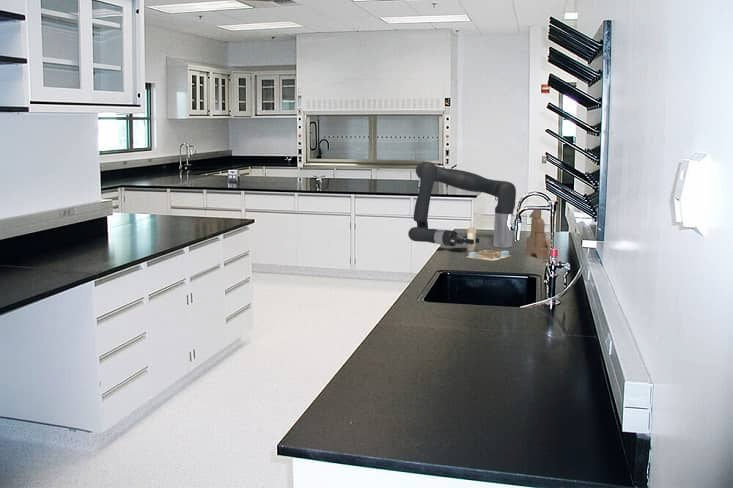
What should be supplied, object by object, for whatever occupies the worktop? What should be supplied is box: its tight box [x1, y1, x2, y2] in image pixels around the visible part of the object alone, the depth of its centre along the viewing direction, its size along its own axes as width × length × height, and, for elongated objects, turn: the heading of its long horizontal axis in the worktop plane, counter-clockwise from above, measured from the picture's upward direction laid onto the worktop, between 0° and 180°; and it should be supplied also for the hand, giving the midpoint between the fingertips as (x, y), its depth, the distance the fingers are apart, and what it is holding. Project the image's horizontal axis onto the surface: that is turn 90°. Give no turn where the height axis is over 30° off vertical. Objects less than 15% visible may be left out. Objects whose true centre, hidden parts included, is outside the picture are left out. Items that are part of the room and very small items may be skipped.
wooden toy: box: [525, 209, 551, 263], centre depth 327 cm, size 16×7×25 cm, turn 20°
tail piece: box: [468, 251, 478, 259], centre depth 325 cm, size 4×2×2 cm, turn 140°
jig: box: [466, 249, 511, 262], centre depth 327 cm, size 18×14×4 cm
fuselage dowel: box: [466, 227, 477, 255], centre depth 335 cm, size 4×4×13 cm
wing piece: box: [500, 250, 510, 258], centre depth 329 cm, size 6×2×2 cm, turn 140°
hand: (476, 241), depth 333 cm, fingers open, 4 cm apart
